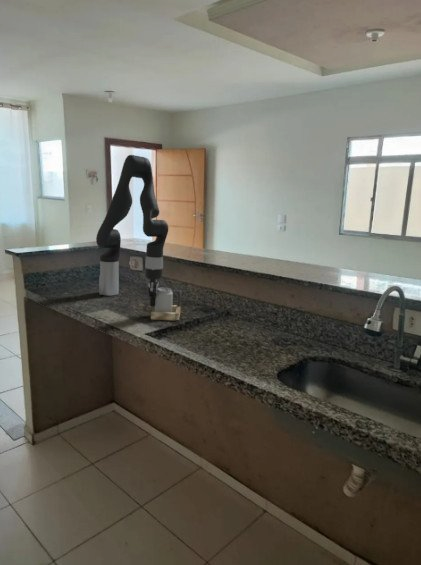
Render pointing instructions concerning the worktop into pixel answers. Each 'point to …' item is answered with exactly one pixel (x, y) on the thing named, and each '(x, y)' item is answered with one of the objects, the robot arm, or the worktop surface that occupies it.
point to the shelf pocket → (169, 315)
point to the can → (163, 300)
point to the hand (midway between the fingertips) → (152, 305)
